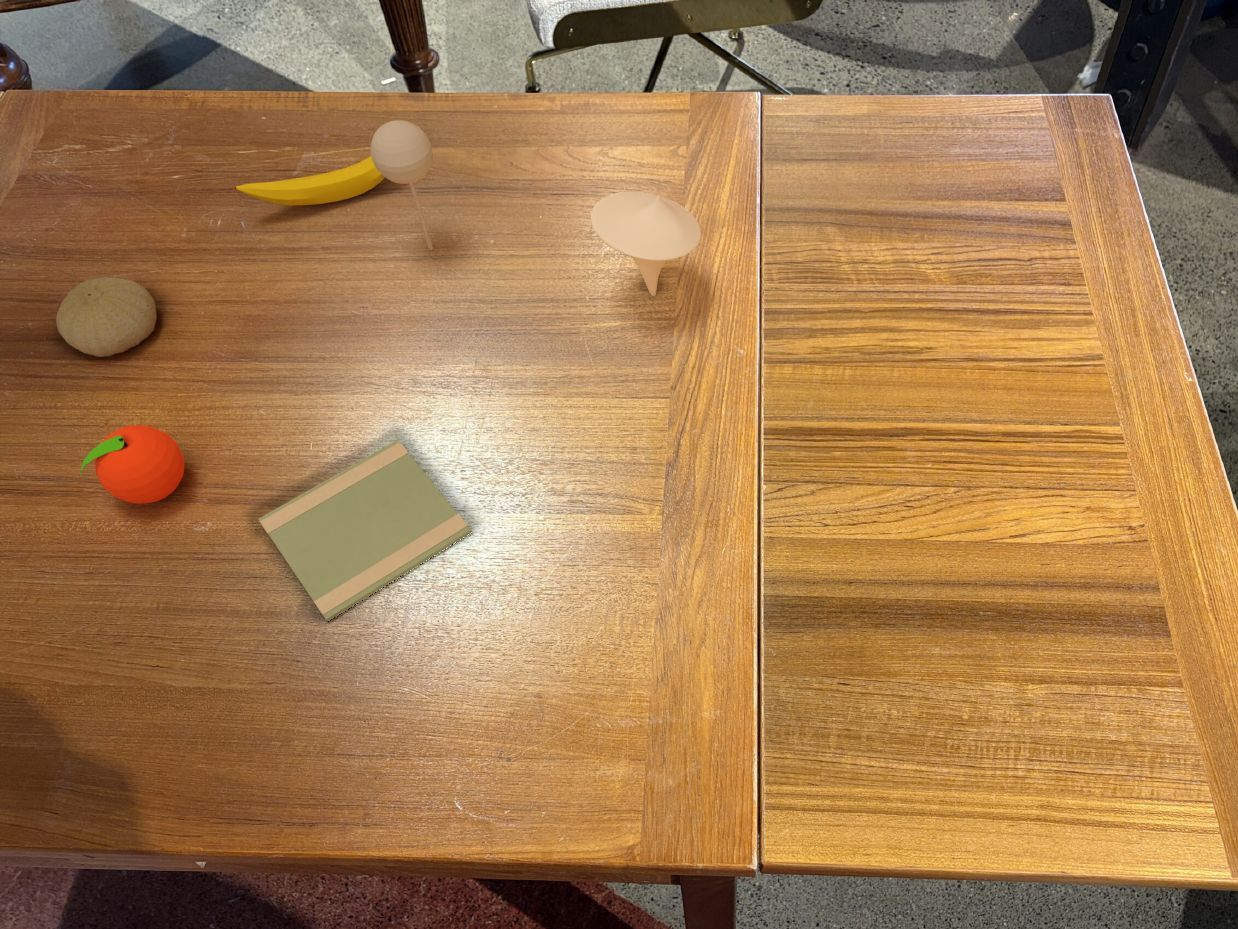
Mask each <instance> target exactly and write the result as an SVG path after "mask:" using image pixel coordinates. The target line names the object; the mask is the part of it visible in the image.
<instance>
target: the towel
mask: <svg viewBox="0 0 1238 929" xmlns="http://www.w3.org/2000/svg"><path fill="white" fill-rule="evenodd" d="M257 520H258V522H259V523H260V525H261V526H262V528H263V529H264V531H265V532H266V533H267V535H268V536H269V538H270V540H271V541H272V542H273V544H274V545H275V547H276V548H277V550H278V551H279V553H280V555H281V556H282V557H283V559H284V560H285V561H286V564H288V566H289V568H290V569H291V571H292V572H293V573H294V575H295V576H296V578H297V579H298V581H299V583H300V584H301V585H302V587H303V588H304V589H305V591H306V593H307V594H308V596H309V597H310V598H311V600H312V602H313V603H314V605H315V606H316V607H317V609H318V610H319V612H320V614H321V615H322V616H323V618H324V619H325V620H326V622H327V621H329V620H331V619H333V618H334V617H336V616H338V615H339V614H341V613H342V612H344V611H346V610H347V609H349V608H350V607H352V606H354V605H355V604H357V603H359V602H360V601H362V600H363V599H365V598H367V597H368V596H370V595H371V594H373V593H375V592H376V591H378V590H379V589H381V588H383V587H384V586H386V585H388V584H389V583H391V582H392V581H394V580H396V579H397V578H399V577H400V576H402V575H404V574H405V573H407V572H409V571H410V570H412V569H413V568H415V567H417V566H418V565H420V564H421V563H423V562H425V561H426V560H428V559H429V558H431V557H433V556H434V555H436V554H438V553H439V552H441V551H442V550H444V549H446V548H447V547H449V546H450V545H452V544H454V543H455V542H457V541H459V540H460V539H462V538H463V537H465V536H467V535H468V534H470V533H471V532H472V533H473V531H472V529H471V528H470V526H469V524H468V523H467V522H466V521H465V520H464V518H463V517H462V516H461V515H460V514H459V513H458V512H457V510H456V509H455V508H454V507H453V506H452V504H450V502H449V501H448V499H447V498H446V497H445V496H444V495H443V493H442V492H441V491H440V490H439V488H438V487H437V486H436V485H435V484H434V483H433V481H432V480H431V479H430V477H429V476H428V475H427V474H426V473H425V472H424V470H423V469H422V468H421V466H420V465H419V464H418V463H417V462H416V460H415V459H414V457H412V455H410V452H409V451H408V450H407V449H406V448H405V446H404V445H403V444H402V442H400V441H399V440H398V439H397V440H395V441H393V442H391V443H389V444H387V445H386V446H383V447H382V448H380V449H379V450H377V451H375V452H373V453H371V454H370V455H368V456H366V457H365V458H362V459H361V460H359V461H358V462H356V463H353V464H352V465H350V466H349V467H347V468H345V469H343V470H342V471H340V472H338V473H336V474H334V475H333V476H331V477H329V478H327V479H326V480H324V481H322V482H320V483H318V484H317V485H315V486H312V488H310V489H307V490H306V491H304V492H302V493H301V494H299V495H297V496H295V497H294V498H292V499H290V500H289V501H287V502H285V503H284V504H282V505H280V506H278V507H276V508H275V509H273V510H271V511H270V512H269V511H268V512H267V513H266V514H264V515H262V516H260V517H259V518H258V519H257ZM470 535H471V534H470ZM468 536H469V535H468ZM468 536H467V537H468ZM465 538H466V537H465ZM462 540H463V539H462ZM460 541H461V540H460ZM460 541H459V542H460ZM457 543H458V542H457ZM454 545H455V544H454ZM452 546H453V545H452ZM449 548H450V547H449ZM447 549H448V548H447ZM447 549H446V550H447ZM444 551H445V550H444ZM441 553H442V552H441ZM439 554H440V553H439ZM439 554H438V555H439ZM436 556H437V555H436ZM433 558H434V557H433ZM431 559H432V558H431ZM428 561H429V560H428ZM426 562H427V561H426ZM426 562H425V563H426ZM423 564H424V563H423ZM420 566H421V565H420ZM418 567H419V566H418ZM418 567H417V568H418ZM415 569H416V568H415ZM412 571H413V570H412ZM410 572H411V571H410ZM410 572H409V573H410ZM407 574H408V573H407ZM404 576H405V575H404ZM402 577H403V576H402ZM399 579H400V578H399ZM397 580H398V579H397ZM397 580H396V581H397ZM394 582H395V581H394ZM391 584H392V583H391ZM389 585H390V584H389ZM389 585H388V586H389ZM386 587H387V586H386ZM383 589H384V588H383ZM381 590H382V589H381ZM378 592H379V591H378ZM375 594H376V593H375ZM373 595H374V594H373ZM370 597H371V596H370ZM368 598H369V597H368ZM368 598H367V599H368ZM365 600H366V599H365ZM362 602H363V601H362ZM360 603H361V602H360ZM360 603H359V604H360ZM357 605H358V604H357ZM354 607H355V606H354ZM352 608H353V607H352ZM349 610H350V609H349ZM347 611H348V610H347ZM347 611H346V612H347ZM344 613H345V612H344ZM341 615H342V614H341ZM339 616H340V615H339ZM339 616H338V617H339ZM336 618H337V617H336ZM333 620H334V619H333ZM331 621H332V620H331Z"/></svg>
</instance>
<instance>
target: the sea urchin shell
mask: <svg viewBox="0 0 1238 929" xmlns="http://www.w3.org/2000/svg"><path fill="white" fill-rule="evenodd" d="M156 305H157V304H156V303H155V299H154V298H153V297H152V295H151V294H150V292H149V291H148V290H147V289H146V288H145V286H144V285H141V284H140V283H138V282H136V281H135V280H131V279H128V278H121V277H120V278H119V277H96V278H91V279H85V280H84V281H82V282H79V283H78V284H77V285H76V286H75V287H73V288H72V289H70V290H69V292H68V293H67V295H66V296H65V298H63V300H62V301H61V302H60V305H59V308H58V310H57V312H56V316H55V322H56V327H57V331H58V333H59V334H60V336H61V337H62V338H63V339H64V341H65V343H67V344H68V345H69V346H70V347H72V348H74V349H76V350H78V351H79V352H82V353H83V354H87V355H91V356H94V357H97V358H98V357H99V358H101V357H102V358H104V357H105V358H106V357H111V356H114V355H116V354H120V353H125V352H126V351H128V350H130V349H131V348H135V347H136V346H138V345H140V344H141V342H143V341H144V340H146V339H147V338H149V336H150V335H151V334H152V333H153V332H154V331H155V326H156V322H157V319H158V318H157V316H158V314H157V307H156Z"/></svg>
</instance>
